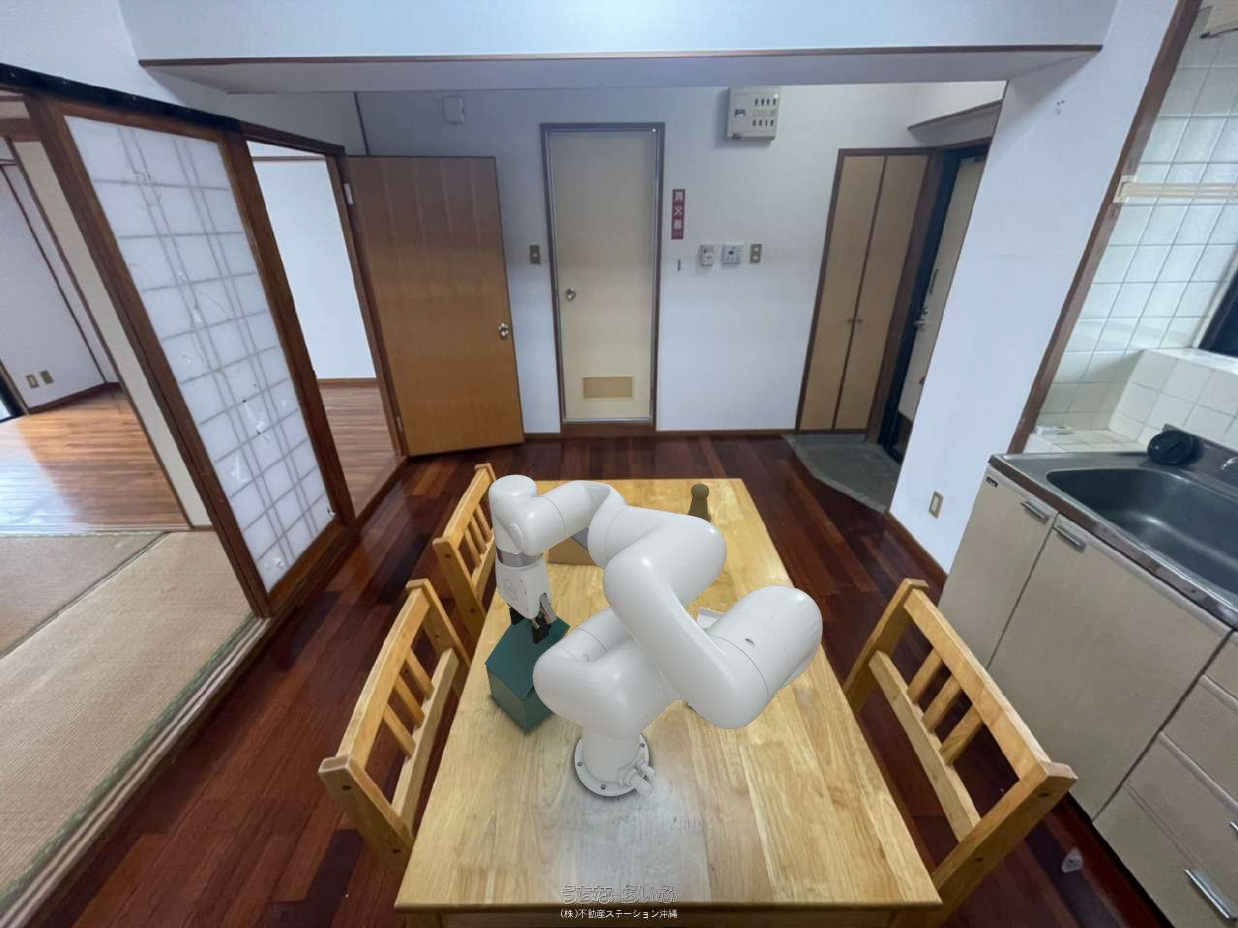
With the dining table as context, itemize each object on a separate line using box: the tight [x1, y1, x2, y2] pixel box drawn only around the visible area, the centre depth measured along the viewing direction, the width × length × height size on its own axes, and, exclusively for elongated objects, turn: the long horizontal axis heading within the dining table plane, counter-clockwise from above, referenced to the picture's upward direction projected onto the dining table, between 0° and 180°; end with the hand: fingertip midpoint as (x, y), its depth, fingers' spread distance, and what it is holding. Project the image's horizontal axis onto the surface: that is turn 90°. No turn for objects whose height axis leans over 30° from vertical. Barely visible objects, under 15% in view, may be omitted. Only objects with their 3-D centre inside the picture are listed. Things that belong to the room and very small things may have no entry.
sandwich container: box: [548, 526, 597, 566], centre depth 134 cm, size 9×15×15 cm, turn 85°
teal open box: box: [485, 665, 553, 733], centre depth 98 cm, size 14×11×8 cm
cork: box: [687, 483, 710, 522], centre depth 150 cm, size 6×6×11 cm
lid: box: [483, 611, 571, 700], centre depth 92 cm, size 14×11×5 cm
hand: (529, 628), depth 92 cm, fingers closed on lid, 5 cm apart
